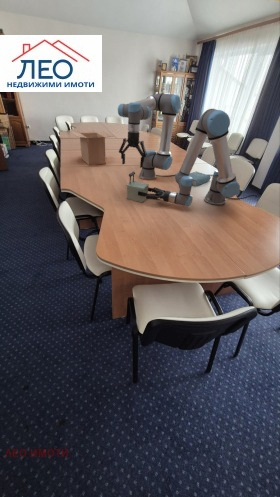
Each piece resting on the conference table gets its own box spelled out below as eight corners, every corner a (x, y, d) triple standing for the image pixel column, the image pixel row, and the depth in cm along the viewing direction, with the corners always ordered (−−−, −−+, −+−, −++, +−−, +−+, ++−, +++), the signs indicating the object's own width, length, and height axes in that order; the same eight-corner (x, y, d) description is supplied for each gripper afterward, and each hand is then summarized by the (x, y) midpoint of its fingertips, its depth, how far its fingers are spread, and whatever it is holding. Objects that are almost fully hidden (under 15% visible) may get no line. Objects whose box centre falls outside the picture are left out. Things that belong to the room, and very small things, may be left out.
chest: (126, 198, 164) (127, 186, 159) (132, 194, 172) (132, 182, 166) (142, 202, 161) (143, 189, 155) (147, 197, 168) (148, 185, 163)
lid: (126, 186, 159) (126, 174, 154) (131, 181, 166) (132, 170, 161) (143, 189, 155) (144, 177, 150) (148, 185, 163) (149, 173, 158)
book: (195, 176, 216) (196, 171, 213) (209, 181, 207) (210, 176, 204) (181, 181, 202) (182, 175, 199) (195, 186, 194) (197, 180, 191)
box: (116, 165, 229) (116, 136, 213) (83, 168, 214) (80, 137, 198) (102, 154, 259) (101, 128, 243) (71, 156, 244) (68, 129, 228)
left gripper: (113, 129, 142) (113, 163, 154) (149, 134, 135) (147, 169, 148) (118, 128, 147) (118, 161, 160) (153, 133, 141) (150, 167, 153)
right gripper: (164, 208, 149) (134, 201, 155) (173, 196, 167) (145, 190, 173) (166, 197, 145) (135, 190, 151) (174, 186, 162) (146, 181, 168)
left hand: (132, 165), depth 154 cm, fingers open, 13 cm apart
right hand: (140, 190), depth 162 cm, fingers closed on chest, 10 cm apart
